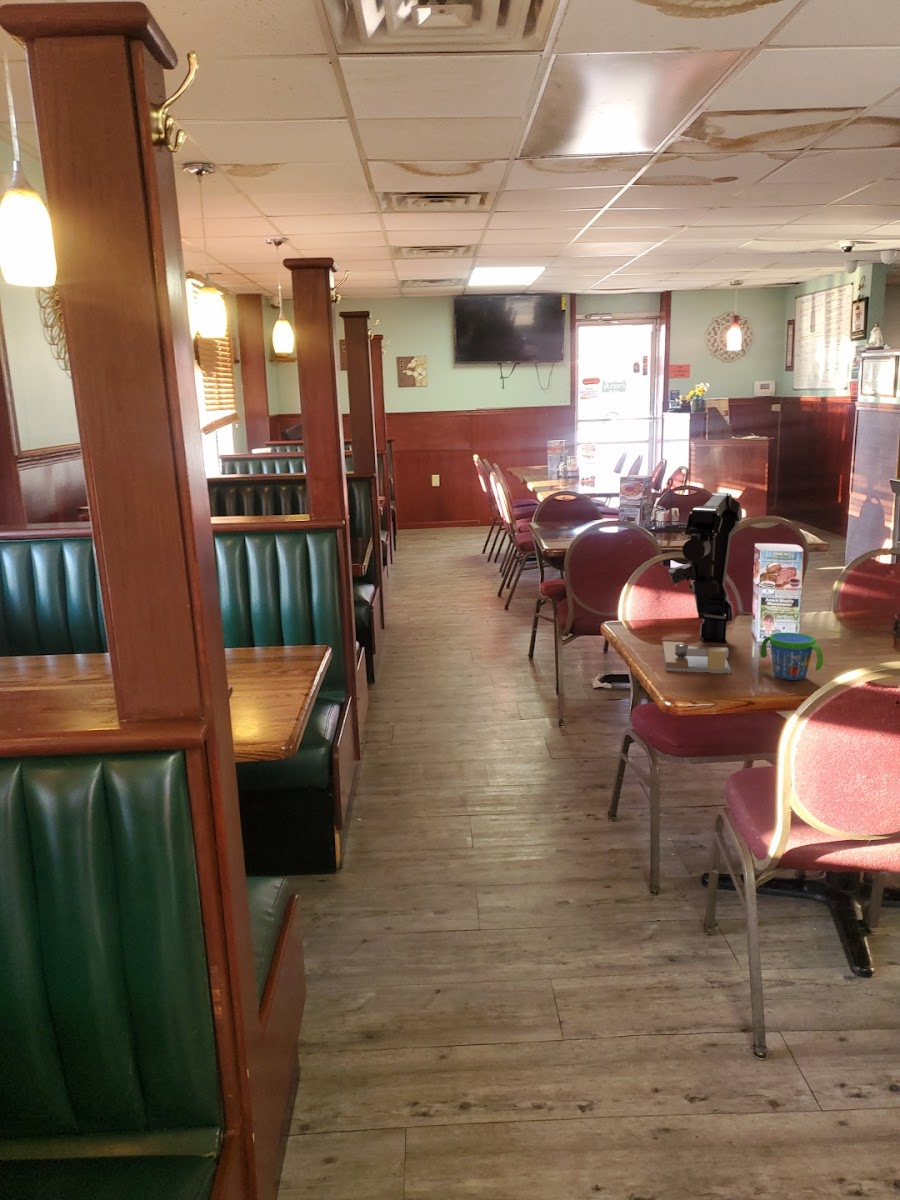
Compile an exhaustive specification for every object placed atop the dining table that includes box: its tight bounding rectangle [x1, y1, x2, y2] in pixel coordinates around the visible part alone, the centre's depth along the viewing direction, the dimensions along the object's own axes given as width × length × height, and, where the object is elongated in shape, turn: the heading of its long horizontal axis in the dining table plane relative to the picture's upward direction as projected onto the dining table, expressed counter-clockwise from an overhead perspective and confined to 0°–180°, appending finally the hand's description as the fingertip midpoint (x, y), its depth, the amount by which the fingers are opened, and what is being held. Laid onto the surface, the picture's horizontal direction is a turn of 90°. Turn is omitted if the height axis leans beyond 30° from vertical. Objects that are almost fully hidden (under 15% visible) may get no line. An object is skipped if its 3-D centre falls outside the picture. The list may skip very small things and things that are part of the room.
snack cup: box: [759, 632, 824, 681], centre depth 210 cm, size 16×10×10 cm
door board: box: [661, 641, 732, 675], centre depth 225 cm, size 16×20×6 cm
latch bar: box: [675, 643, 730, 659], centre depth 219 cm, size 13×3×2 cm, turn 80°
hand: (699, 612), depth 227 cm, fingers closed
